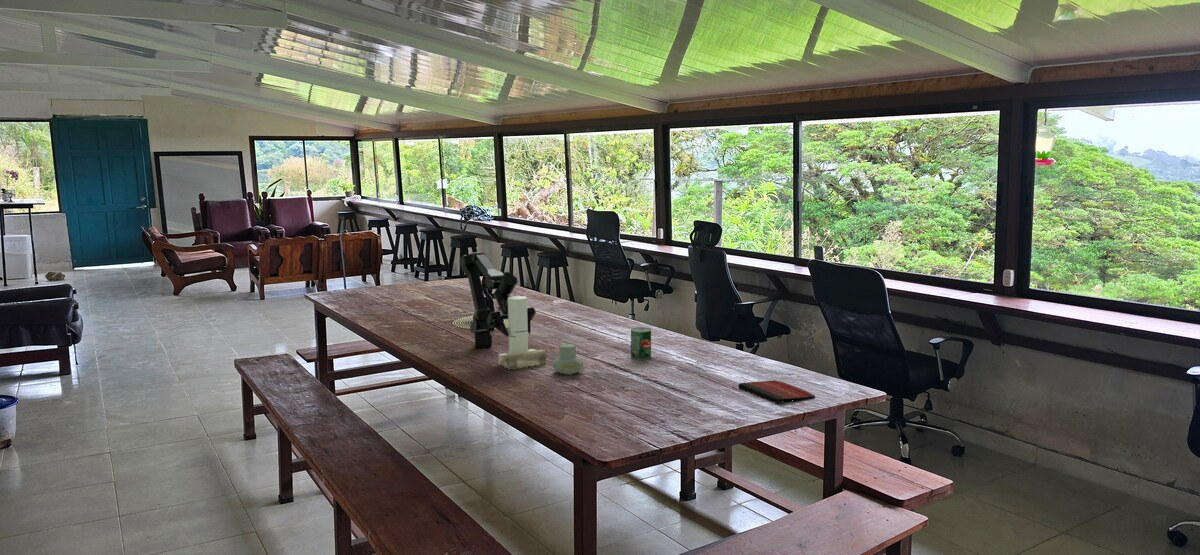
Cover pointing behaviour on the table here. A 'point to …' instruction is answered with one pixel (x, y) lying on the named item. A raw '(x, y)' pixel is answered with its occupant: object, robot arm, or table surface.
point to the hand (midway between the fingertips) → (519, 334)
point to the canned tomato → (640, 343)
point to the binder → (776, 391)
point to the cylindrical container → (517, 324)
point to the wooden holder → (522, 359)
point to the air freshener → (567, 360)
